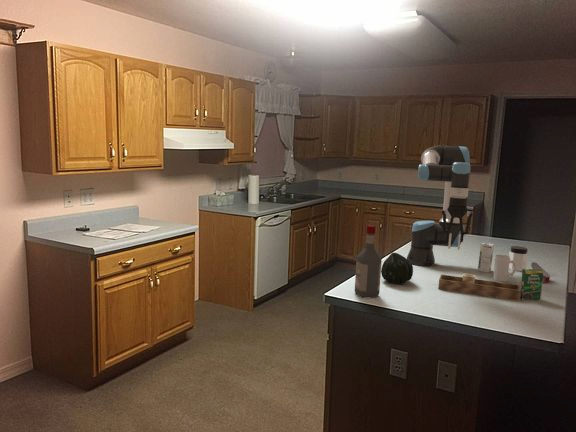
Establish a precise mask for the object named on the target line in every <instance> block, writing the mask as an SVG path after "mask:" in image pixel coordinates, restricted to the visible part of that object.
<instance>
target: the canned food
mask: <svg viewBox="0 0 576 432" xmlns="http://www.w3.org/2000/svg"><path fill="white" fill-rule="evenodd" d="M530 266H531V269H541V270H543V279H542V284H547V283H548V284H549V283H550V277H551V276H550V274H549V272H547V271H546V270H545V269H544V268H542V267H541V265H539V264H538V263H537V262H536V261H535V262H534V261H532V262H531V264H530Z"/></svg>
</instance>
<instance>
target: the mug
mask: <svg viewBox="0 0 576 432" xmlns="http://www.w3.org/2000/svg"><path fill="white" fill-rule="evenodd" d="M509 263H512V264H513V265H514V270H512V272H509V270H510V269H509ZM493 265H494V266H493V281H495V282H507V281H508V277H513V276H514V275H515V273H516V272H517V271H516V263H515V260H512V261H511V260H510V256H509V255H507V254H506V255H505V254H495V255H494V264H493Z"/></svg>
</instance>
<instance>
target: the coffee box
mask: <svg viewBox="0 0 576 432" xmlns="http://www.w3.org/2000/svg"><path fill="white" fill-rule="evenodd" d="M521 272H522V273H521V282H520V283H521V284H520V288H521V296H520V299H522V300H538V301H539V300H541V298H542V287H543V283H542V279H543V270H541V269H533V268H528V269H527V268H526V269H523V271H521Z"/></svg>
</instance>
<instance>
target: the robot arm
mask: <svg viewBox="0 0 576 432" xmlns="http://www.w3.org/2000/svg"><path fill="white" fill-rule="evenodd" d="M470 158H471V157H470V150H469V148H468V147H467V146H460V145H434V146H431V147H428V148H426V149H424V151H423V152H422V153H421V156H420V162H421V164H419V165H418V170H417V179H418V180H419V181H425V182H427V181H429V182H430V181H431V182H445V183H444V196H443V207H442V211H441V213H442V217H441V218H440V219H439V221H438V224H437V223H436V221H434V220H419V221H418V220H417V221H415V222H414V223H412V229H411V241H410V243H411V244H410V249H409V251H408V254H407V256H406V259H408V260H409V261H410V262H411V263H412V265H414V266H423V267H424V266H427V267H428V266H429V267H430V266H434V265H435V264H436V260H435V255H434V251H433V249H434V246H439V247H440V246H441V247H447V249H451V248H457V250H460V249H461V244H462V243H463V242H464V236H465V235H468V234H469V230H470V223H471V218H472V217H473V215H474V213H473V212H470V211H469V210H468V208H467V207H468V196H469V189H470V187H469V184H470V183H469V182H470V177H471V176H470V175H471V164H470V163H471V162H470V161H471V160H470ZM464 216H466V217H467V219H466V225H465V226H464V221H463V219H464V218H463V217H464Z"/></svg>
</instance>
